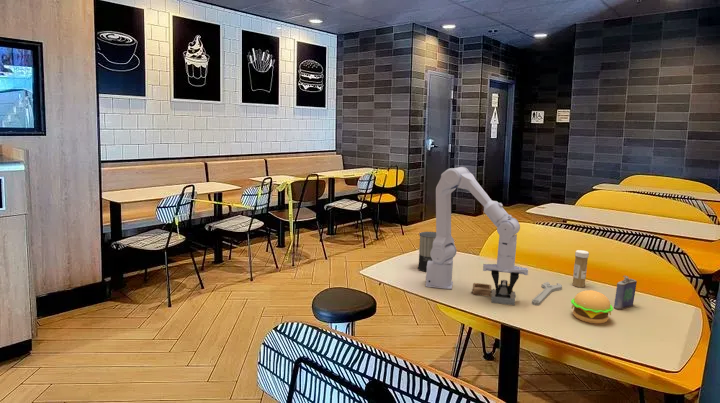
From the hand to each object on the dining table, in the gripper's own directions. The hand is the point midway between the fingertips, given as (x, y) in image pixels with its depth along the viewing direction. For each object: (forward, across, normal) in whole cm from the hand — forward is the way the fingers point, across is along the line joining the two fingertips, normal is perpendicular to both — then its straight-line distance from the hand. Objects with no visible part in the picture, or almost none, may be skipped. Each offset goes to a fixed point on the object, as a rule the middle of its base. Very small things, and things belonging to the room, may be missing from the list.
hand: (503, 292), depth 165 cm
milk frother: (+3, -27, +30) cm, 40 cm away
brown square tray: (+3, -7, +6) cm, 9 cm away
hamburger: (+3, +26, -6) cm, 27 cm away
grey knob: (+3, 0, 0) cm, 3 cm away
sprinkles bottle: (+3, +28, +26) cm, 38 cm away
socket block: (+3, 0, +2) cm, 3 cm away
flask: (+3, +40, +8) cm, 40 cm away
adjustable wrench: (+3, +14, +11) cm, 19 cm away
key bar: (+3, +2, +7) cm, 8 cm away
